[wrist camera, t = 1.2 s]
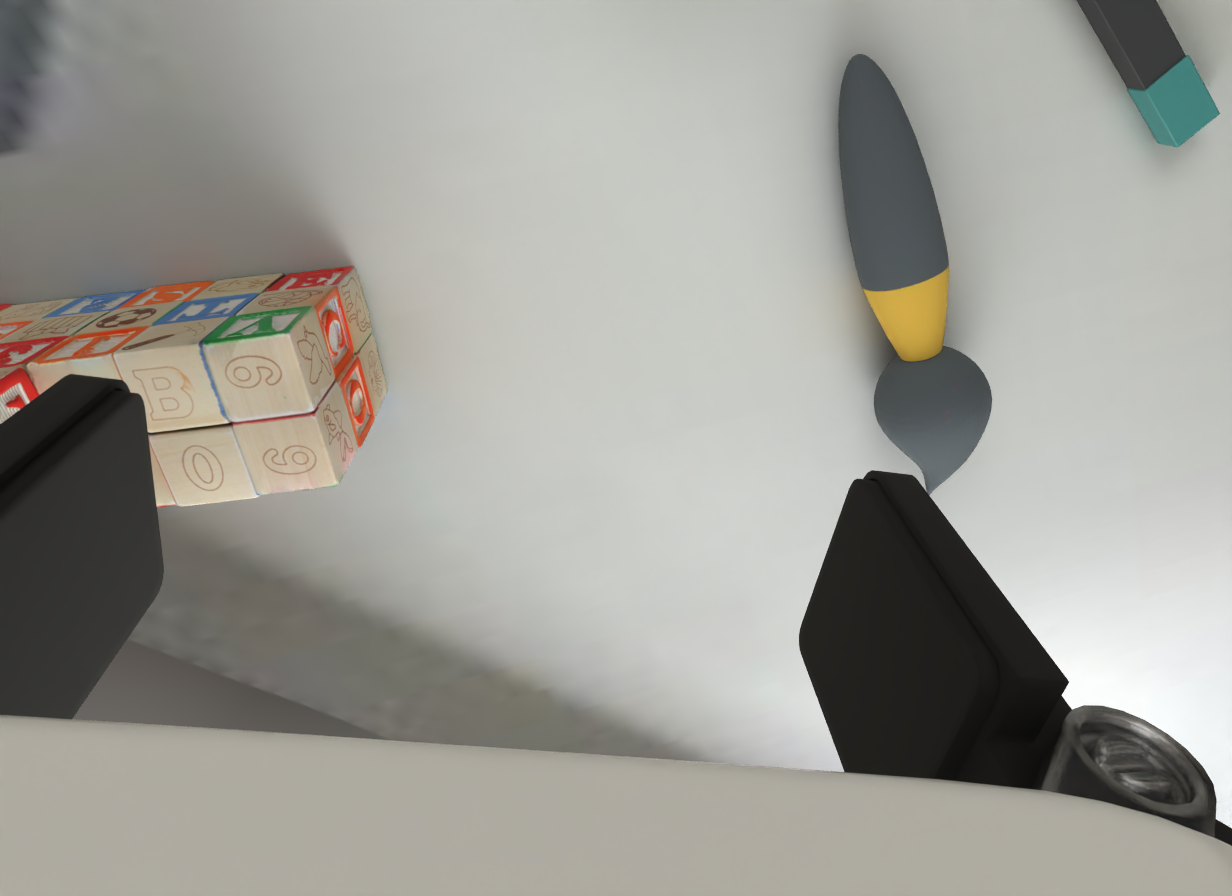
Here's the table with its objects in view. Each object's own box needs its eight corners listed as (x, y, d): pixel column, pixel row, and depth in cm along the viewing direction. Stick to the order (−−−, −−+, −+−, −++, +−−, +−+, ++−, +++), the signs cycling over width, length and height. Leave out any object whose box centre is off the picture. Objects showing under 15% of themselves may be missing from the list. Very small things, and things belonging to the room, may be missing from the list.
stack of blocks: (357, 259, 35) (262, 366, 24) (391, 390, 38) (320, 537, 27) (-128, 317, 35) (-438, 448, 24) (-57, 443, 38) (-305, 610, 27)
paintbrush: (759, 95, 33) (789, 107, 28) (877, 38, 32) (926, 42, 28) (886, 474, 42) (924, 529, 37) (981, 437, 41) (1031, 488, 37)
